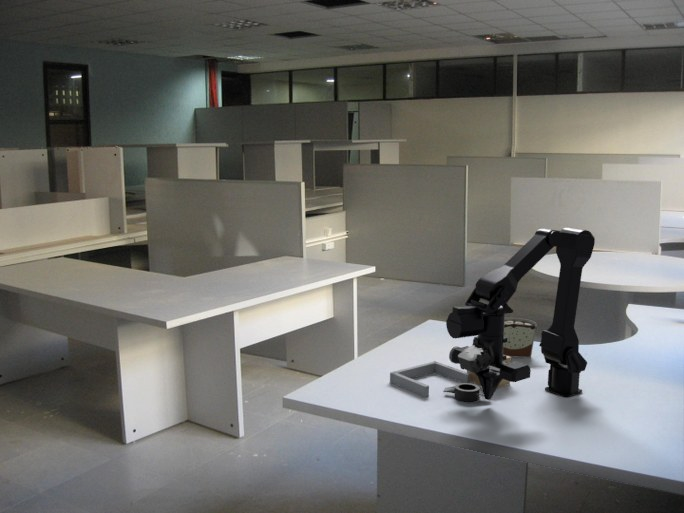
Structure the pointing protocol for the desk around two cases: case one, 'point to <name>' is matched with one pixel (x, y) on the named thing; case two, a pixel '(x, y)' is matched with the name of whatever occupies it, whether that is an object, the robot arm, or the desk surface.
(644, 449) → the desk surface
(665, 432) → the desk surface
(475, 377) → the bearing block
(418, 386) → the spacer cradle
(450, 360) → the shaft
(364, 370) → the desk surface
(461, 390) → the black ring with tabs
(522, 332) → the food container
